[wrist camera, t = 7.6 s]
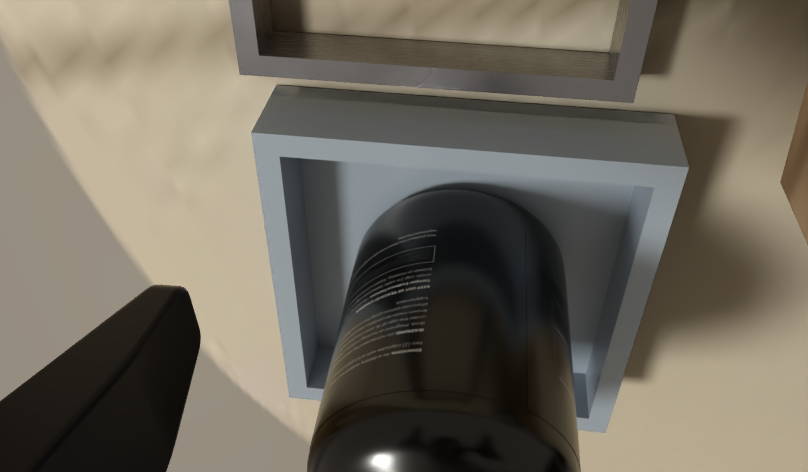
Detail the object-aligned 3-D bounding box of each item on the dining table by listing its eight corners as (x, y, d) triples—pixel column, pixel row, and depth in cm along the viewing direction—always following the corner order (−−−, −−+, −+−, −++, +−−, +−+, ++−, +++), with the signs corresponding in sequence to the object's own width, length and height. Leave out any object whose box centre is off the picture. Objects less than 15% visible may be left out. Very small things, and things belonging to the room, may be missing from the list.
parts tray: (600, 375, 28) (605, 432, 26) (305, 344, 29) (289, 397, 27) (673, 114, 21) (689, 167, 19) (276, 85, 22) (251, 132, 20)
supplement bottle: (371, 330, 27) (292, 690, 18) (347, 178, 23) (228, 553, 14) (561, 337, 26) (579, 724, 17) (575, 181, 22) (607, 587, 13)
